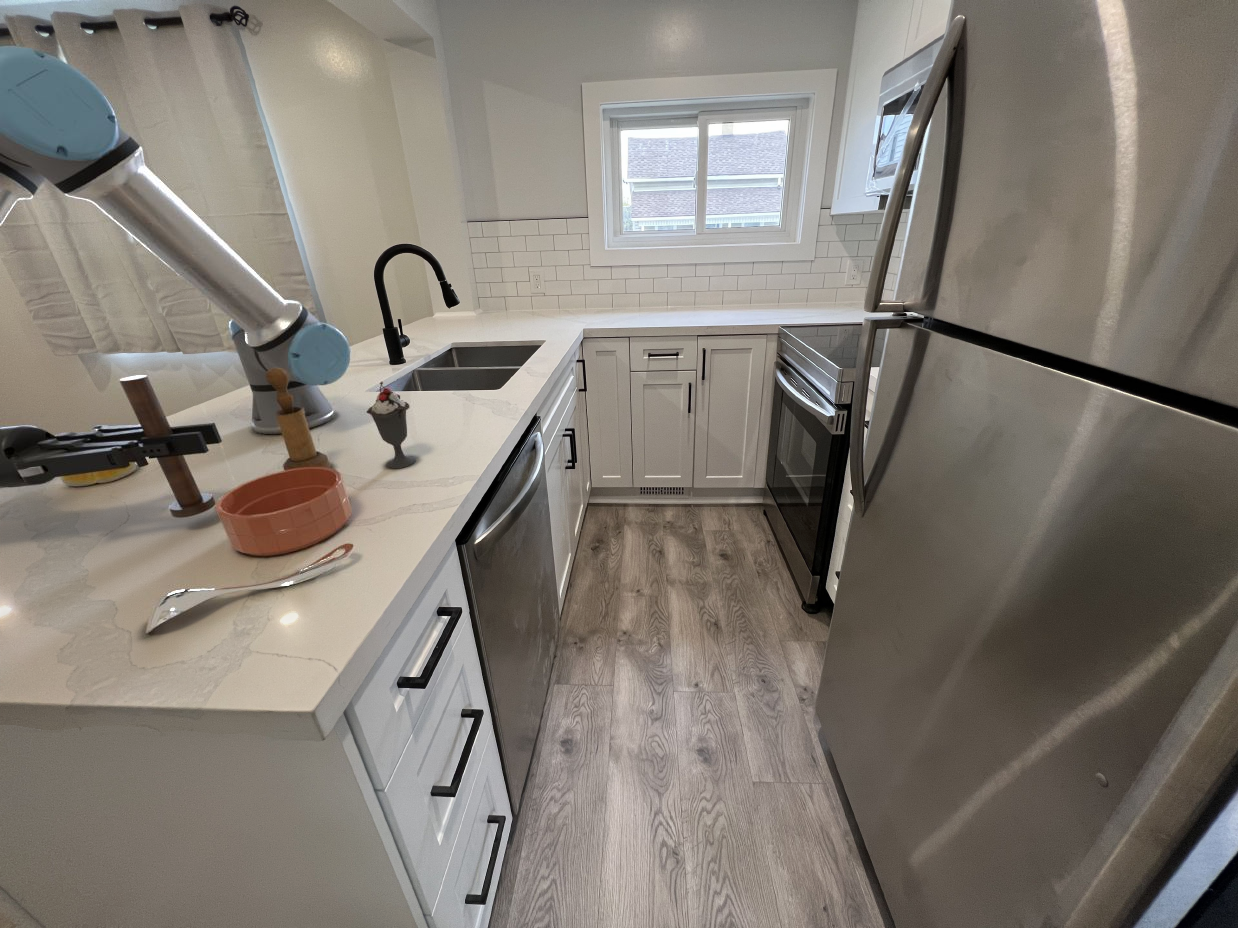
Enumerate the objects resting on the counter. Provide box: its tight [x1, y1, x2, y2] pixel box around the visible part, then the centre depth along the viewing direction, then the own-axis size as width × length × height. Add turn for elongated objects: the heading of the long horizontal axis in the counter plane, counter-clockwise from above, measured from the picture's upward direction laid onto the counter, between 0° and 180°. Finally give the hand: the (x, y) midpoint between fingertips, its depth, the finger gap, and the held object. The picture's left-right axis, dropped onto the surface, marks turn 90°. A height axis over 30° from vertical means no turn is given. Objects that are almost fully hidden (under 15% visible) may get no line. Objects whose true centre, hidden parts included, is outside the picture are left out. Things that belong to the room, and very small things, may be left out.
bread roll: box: [60, 462, 137, 487], centre depth 86 cm, size 8×9×4 cm
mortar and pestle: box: [266, 368, 332, 471], centre depth 81 cm, size 7×6×18 cm
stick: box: [118, 374, 217, 519], centre depth 65 cm, size 5×5×19 cm
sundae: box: [365, 381, 417, 470], centre depth 84 cm, size 7×7×15 cm
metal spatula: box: [145, 543, 355, 634], centre depth 55 cm, size 20×4×5 cm
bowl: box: [214, 467, 352, 557], centre depth 67 cm, size 14×14×6 cm
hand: (209, 437), depth 65 cm, fingers closed on stick, 3 cm apart
